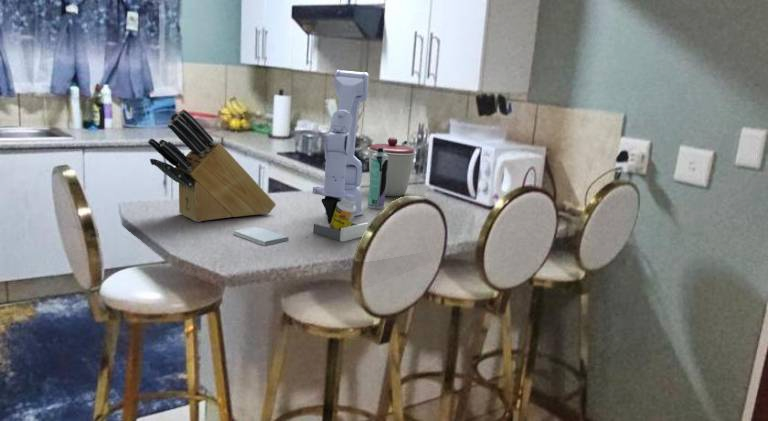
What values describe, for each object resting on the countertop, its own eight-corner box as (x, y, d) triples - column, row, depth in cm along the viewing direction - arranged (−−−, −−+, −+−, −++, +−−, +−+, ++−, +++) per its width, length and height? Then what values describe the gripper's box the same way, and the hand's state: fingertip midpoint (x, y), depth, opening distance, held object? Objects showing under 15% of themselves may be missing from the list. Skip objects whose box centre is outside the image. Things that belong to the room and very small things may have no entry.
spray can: (386, 208, 210) (391, 149, 205) (371, 208, 207) (375, 148, 203) (380, 204, 214) (385, 146, 210) (365, 204, 212) (370, 146, 208)
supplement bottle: (325, 228, 174) (335, 195, 170) (336, 224, 178) (347, 192, 174) (340, 237, 171) (351, 204, 167) (352, 233, 176) (362, 201, 172)
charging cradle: (338, 226, 182) (339, 214, 181) (367, 235, 176) (368, 222, 175) (313, 232, 174) (313, 219, 173) (342, 241, 167) (343, 228, 166)
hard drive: (288, 236, 164) (257, 225, 172) (264, 241, 158) (233, 230, 165) (288, 242, 165) (257, 231, 172) (264, 248, 158) (233, 236, 166)
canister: (386, 200, 221) (391, 141, 216) (353, 190, 234) (358, 134, 229) (422, 196, 233) (427, 140, 229) (389, 187, 246) (394, 133, 241)
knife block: (145, 217, 174) (145, 105, 167) (256, 206, 197) (260, 107, 190) (162, 227, 166) (162, 110, 159) (276, 214, 189) (280, 111, 182)
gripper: (306, 172, 174) (303, 219, 177) (345, 182, 166) (341, 231, 169) (323, 170, 180) (320, 216, 183) (362, 179, 171) (358, 227, 174)
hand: (331, 223), depth 176 cm, fingers closed
